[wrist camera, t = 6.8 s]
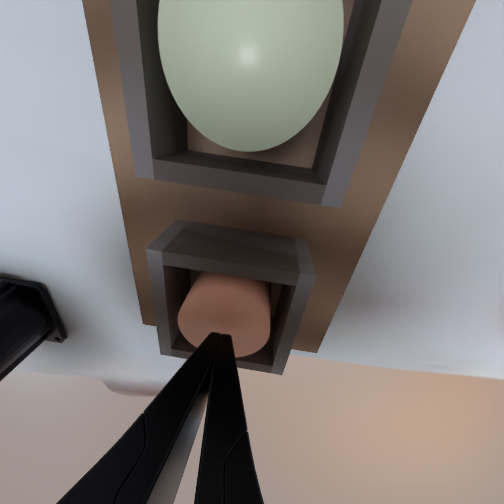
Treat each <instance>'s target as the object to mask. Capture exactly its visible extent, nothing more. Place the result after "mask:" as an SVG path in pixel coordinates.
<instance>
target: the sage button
mask: <svg viewBox="0 0 504 504" xmlns="http://www.w3.org/2000/svg"><path fill="white" fill-rule="evenodd" d="M343 25H344V13H343V3H342V0H160V2H159V11H158V43H159V51H160V57H161V62H162V67H163V71H164V74H165V77H166V80H167V83H168V86H169V88H170V91H171V93H172V95H173V97H174V99H175V101H176V103H177V105H178V106H179V108H180V110H181V111H182V112H183V114H184V115H185V117H186V118H187V119H188V120H189V122H190V123H191V124H192V125H193V126H194V127H195V128H196V129H197V130H198V131H199V132H200V133H201V134H203V135H204V136H205V137H207V138H208V139H209V140H211V141H213V142H215V143H217V144H218V145H220V146H223V147H226V148H228V149H232V150H237V151H246V152H252V151H261V150H266V149H270V148H272V147H275V146H278V145H280V144H282V143H283V142H285V141H287V140H289V139H290V138H292V137H293V136H294V135H296V134H297V133H298V132H299V131H300V130H301V129H303V128H304V127H305V126H306V125H307V124H308V122H309V121H310V120H311V119H312V118H313V117H314V115H315V114H316V112H317V111H318V110H319V108H320V107H321V105H322V103H323V101H324V100H325V98H326V96H327V94H328V92H329V90H330V87H331V85H332V83H333V80H334V77H335V74H336V71H337V67H338V64H339V59H340V54H341V49H342V41H343Z"/></svg>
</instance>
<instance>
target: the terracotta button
mask: <svg viewBox="0 0 504 504" xmlns="http://www.w3.org/2000/svg"><path fill="white" fill-rule="evenodd" d="M270 311H271V282H267V281H261V280H255V279H248V278H242V277H236V276H230V275H224V274H218V273H211V272H205V271H200V272H199V274H198V276H197V278H196V280H195V282H194V284H193V286H192V288H191V289H190V291H189V293H188V295H187V297H186V299H185V301H184V303H183V305H182V306H181V308H180V311H179V313H178V325H179V328H180V331H181V333H182V334H183V336H184V337H185V338H186V339H187V340H188V341H189V342H190V343H191V344H192V345H194V346H195V347H197V348H198V346H199V345H200V344H201V343H202V342H203V341H204V339H205V338H206V337H207V336H208V335H209V334H210V333H211V332H218V333H221V334H223V333H224V334H230V335H231V336H232V341H233V347H234V353H235V357H243V356H247V355H250V354H253V353H255V352H257V351H258V350H260V349H261V348H262V347H263V346H264V345H265V344H266V342H267V341H268V338H269V335H270Z"/></svg>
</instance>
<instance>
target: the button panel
mask: <svg viewBox="0 0 504 504" xmlns="http://www.w3.org/2000/svg"><path fill="white" fill-rule="evenodd" d="M475 1H476V0H342V3H343V13H344V25H343V41H342V49H341V54H340V59H339V64H338V67H337V71H336V74H335V77H334V80H333V83H332V85H331V87H330V90H329V92H328V94H327V96H326V98H325V100H324V101H323V103H322V105H321V107H320V108H319V110H318V111H317V112H316V114H315V115H314V117H313V118H312V119H311V120H310V121H309V122H308V124H307V125H306V126H305V127H304V128H303V129H301V130H300V131H299V132H298V133H297V134H296V135H294V136H293V137H292V138H290V139H289V140H287V141H285V142H283V143H282V144H280V145H278V146H275V147H272V148H270V149H266V150H261V151H252V152H246V151H237V150H232V149H228V148H226V147H223V146H220V145H218V144H217V143H215V142H213V141H211V140H209V139H208V138H207V137H205V136H204V135H203V134H201V133H200V132H199V131H198V130H197V129H196V128H195V127H194V126H193V125H192V124H191V123H190V122H189V120H188V119H187V118H186V117H185V115H184V114H183V112H182V111H181V110H180V108H179V106H178V105H177V103H176V101H175V99H174V97H173V95H172V93H171V91H170V88H169V86H168V83H167V80H166V77H165V74H164V71H163V67H162V62H161V57H160V51H159V43H158V11H159V2H160V0H82V2H83V7H84V13H85V18H86V23H87V29H88V34H89V39H90V45H91V50H92V55H93V61H94V66H95V71H96V77H97V82H98V87H99V93H100V98H101V103H102V108H103V114H104V119H105V124H106V130H107V135H108V140H109V146H110V151H111V156H112V162H113V167H114V172H115V178H116V183H117V188H118V193H119V199H120V204H121V209H122V215H123V220H124V225H125V231H126V236H127V241H128V247H129V252H130V257H131V263H132V268H133V273H134V278H135V284H136V289H137V294H138V300H139V305H140V310H141V316H142V321H143V324H146V325H152V326H157V333H158V340H159V347H160V354H161V355H167V356H173V357H179V358H185V359H188V358H189V357H190V356H191V355H192V354H193V352H194V351H195V350H196V349H197V347H195V346H194V345H192V344H191V343H190V342H189V341H188V340H187V339H186V338H185V337H184V336H183V334H182V333H181V331H180V328H179V325H178V313H179V311H180V308H181V306H182V305H183V303H184V301H185V299H186V297H187V295H188V293H189V291H190V289H191V288H192V286H193V284H194V282H195V280H196V278H197V276H198V274H199V272H200V271H205V272H211V273H218V274H224V275H230V276H236V277H242V278H248V279H255V280H261V281H267V282H271V311H270V335H269V338H268V341H267V342H266V344H265V345H264V346H263V347H262V348H261V349H260V350H258V351H257V352H255V353H253V354H250V355H247V356H243V357H235V359H236V364H237V367H239V368H244V369H250V370H256V371H262V372H267V373H274V374H280V375H282V373H283V371H284V368H285V365H286V362H287V359H288V357H289V354H290V351H291V349H295V350H301V351H307V352H313V353H317V351H318V349H319V347H320V345H321V343H322V340H323V338H324V336H325V334H326V331H327V329H328V327H329V325H330V323H331V320H332V318H333V316H334V314H335V312H336V309H337V307H338V305H339V303H340V300H341V298H342V296H343V294H344V292H345V289H346V287H347V285H348V283H349V281H350V278H351V276H352V274H353V272H354V269H355V267H356V265H357V263H358V261H359V258H360V256H361V254H362V252H363V250H364V247H365V245H366V243H367V241H368V238H369V236H370V234H371V232H372V230H373V227H374V225H375V223H376V221H377V219H378V216H379V214H380V212H381V210H382V207H383V205H384V203H385V201H386V199H387V196H388V194H389V192H390V190H391V188H392V185H393V183H394V181H395V179H396V176H397V174H398V172H399V170H400V168H401V165H402V163H403V161H404V159H405V156H406V154H407V152H408V150H409V148H410V145H411V143H412V141H413V139H414V137H415V134H416V132H417V130H418V128H419V125H420V123H421V121H422V119H423V117H424V114H425V112H426V110H427V108H428V106H429V103H430V101H431V99H432V97H433V94H434V92H435V90H436V88H437V86H438V83H439V81H440V79H441V77H442V75H443V72H444V70H445V68H446V66H447V63H448V61H449V59H450V57H451V55H452V52H453V50H454V48H455V46H456V44H457V41H458V39H459V37H460V35H461V32H462V30H463V28H464V26H465V24H466V21H467V19H468V17H469V15H470V13H471V10H472V8H473V6H474V4H475Z"/></svg>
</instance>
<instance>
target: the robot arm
mask: <svg viewBox="0 0 504 504" xmlns="http://www.w3.org/2000/svg"><path fill="white" fill-rule="evenodd" d="M66 338H67V335H66V333H65V331H64V329H63V327H62V325H61V323H60V320H59V318H58V316H57V314H56V312H55V310H54V308H53V306H52V303H51V301H50V299H49V297H48V295H47V293H46V291H45V289H44V287H42V286H41V285H39V284H37V283H31V282H25V281H19V280H13V279H7V278H1V277H0V381H1V380H2V379H3V378H4V377H5V376H6V375H8V374H9V373H10V372H11V371H12V370H13V369H14V368H15V367H16V366H17V365H18V364H20V363H21V362H22V361H23V360H24V359H25V358H26V357H27V356H28V355H29V354H30V353H31V352H33V351H34V350H35V349H36V348H37V347H38V346H39V345H40V344H41V343H42V342H43V341H45V340H47V341H53V342H58V343H62V342H64V341H65V340H66ZM206 404H207V410H206V417H205V424H204V433H203V440H202V447H201V455H200V462H199V470H198V478H197V486H196V494H195V501H194V504H264V502H263V498H262V494H261V491H260V487H259V483H258V479H257V475H256V471H255V466H254V461H253V456H252V451H251V446H250V441H249V434H248V432H247V423H246V417H245V412H244V405H243V400H242V394H241V388H240V383H239V376H238V370H237V364H236V359H235V353H234V347H233V341H232V336H231V335H230V334H224V333H223V334H221V333H218V332H211V333H210V334H209V335H208V336H207V337H206V338H205V339H204V341H203V342H202V343H201V344H200V345H199V346H198V348H197V349H196V350H195V351H194V352H193V354H192V355H191V356H190V357H189V358H188V359H187V361H186V362H185V363H184V364H183V365H182V367H181V368H180V369H179V370H178V371H177V372H176V374H175V375H174V376H173V377H172V378H171V380H170V381H169V382H168V383H167V384H166V385H165V387H164V388H163V389H162V390H161V391H160V393H159V394H158V395H157V396H156V397H155V398H154V400H153V401H152V402H151V403H150V404H149V406H148V407H147V408H146V409H145V410H144V414H143V413H142V414H141V415H140V416H139V417H138V418H137V420H136V421H135V422H134V423H133V425H131V427H130V428H129V429H128V430H127V431H126V432H125V433H124V434H123V436H122V437H121V438H120V439H119V440H118V441H117V442H116V443H115V444H114V446H113V447H112V448H111V449H110V450H109V451H108V452H107V453H106V454H105V455H104V456H103V457H102V458H101V459H100V460H99V461H98V462H97V463H96V464H95V465H94V466H93V467H92V468H91V469H90V470H89V471H88V472H87V473H86V474H85V475H84V476H83V477H82V478H81V479H80V480H79V481H78V482H77V483H76V484H75V485H74V486H73V487H72V488H71V489H70V490H69V491H68V492H67V493H66V494H65V495H64V496H63V497H62V498H61V499H60V500H59V501H58V502H57V503H56V504H173V503H174V500H175V497H176V494H177V491H178V488H179V485H180V482H181V479H182V476H183V473H184V470H185V467H186V464H187V461H188V458H189V455H190V452H191V449H192V446H193V443H194V440H195V437H196V434H197V431H198V428H199V425H200V421H201V419H202V416H203V413H204V410H205V407H206Z"/></svg>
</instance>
